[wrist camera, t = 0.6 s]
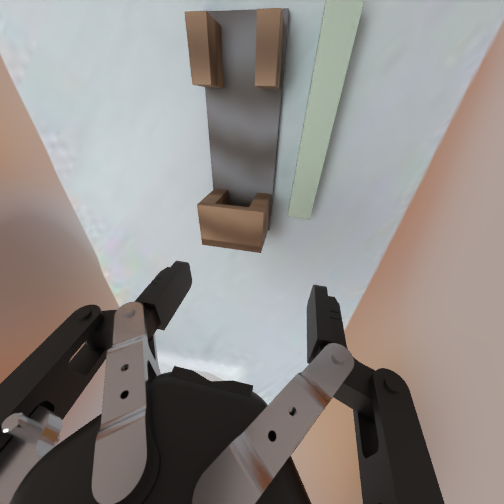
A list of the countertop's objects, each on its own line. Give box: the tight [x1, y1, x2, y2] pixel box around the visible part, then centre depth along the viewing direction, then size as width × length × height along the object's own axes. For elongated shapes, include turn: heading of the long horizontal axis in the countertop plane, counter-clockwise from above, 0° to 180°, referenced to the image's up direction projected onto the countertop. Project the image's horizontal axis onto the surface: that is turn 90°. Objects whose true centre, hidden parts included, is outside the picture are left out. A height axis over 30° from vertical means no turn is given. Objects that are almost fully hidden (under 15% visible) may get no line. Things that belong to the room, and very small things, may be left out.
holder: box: [185, 8, 289, 253], centre depth 25 cm, size 24×9×8 cm, turn 179°
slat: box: [288, 0, 364, 219], centre depth 24 cm, size 20×3×4 cm, turn 177°
